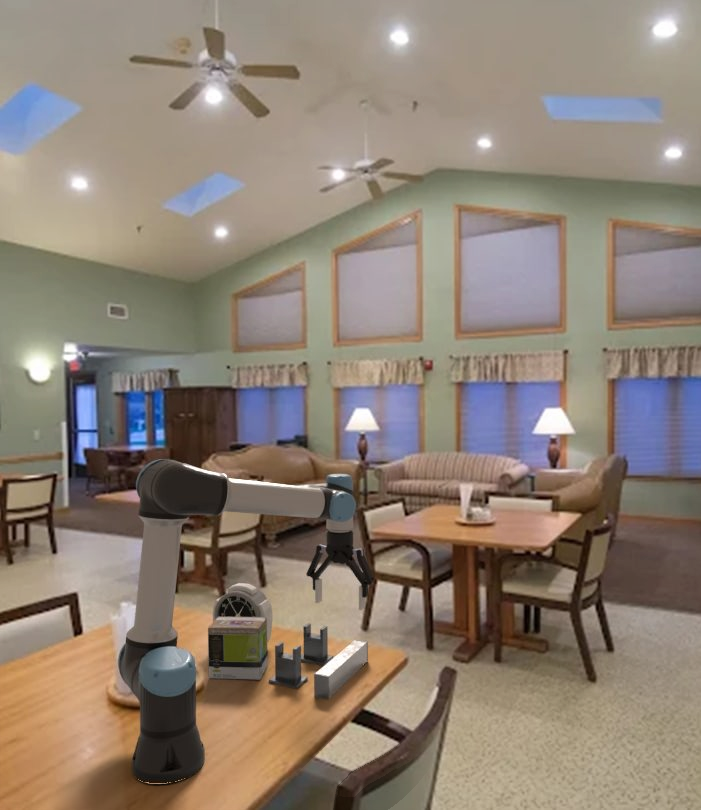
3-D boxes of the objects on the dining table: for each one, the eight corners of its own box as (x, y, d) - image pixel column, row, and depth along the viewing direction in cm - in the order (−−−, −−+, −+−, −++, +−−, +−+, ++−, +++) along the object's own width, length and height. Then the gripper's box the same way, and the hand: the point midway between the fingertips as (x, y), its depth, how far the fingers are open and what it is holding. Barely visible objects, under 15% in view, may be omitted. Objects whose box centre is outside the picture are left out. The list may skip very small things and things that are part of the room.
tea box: (268, 666, 185) (267, 616, 185) (260, 681, 175) (259, 628, 175) (218, 664, 187) (218, 614, 187) (207, 679, 177) (207, 627, 177)
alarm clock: (210, 650, 197) (210, 586, 197) (223, 640, 205) (223, 578, 205) (263, 656, 192) (262, 590, 192) (274, 646, 200) (274, 582, 200)
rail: (328, 699, 164) (327, 676, 164) (314, 696, 166) (314, 673, 166) (367, 661, 188) (367, 641, 188) (355, 659, 190) (355, 639, 189)
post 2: (324, 665, 185) (324, 632, 185) (297, 660, 189) (297, 627, 189) (333, 658, 190) (333, 625, 190) (307, 653, 194) (307, 620, 194)
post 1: (296, 688, 171) (296, 652, 170) (268, 682, 174) (268, 646, 174) (307, 679, 176) (307, 644, 176) (280, 673, 180) (279, 639, 180)
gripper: (386, 530, 174) (386, 607, 174) (307, 523, 185) (307, 595, 185) (375, 536, 167) (375, 615, 168) (294, 528, 178) (294, 602, 178)
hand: (340, 605), depth 176 cm, fingers open, 13 cm apart
